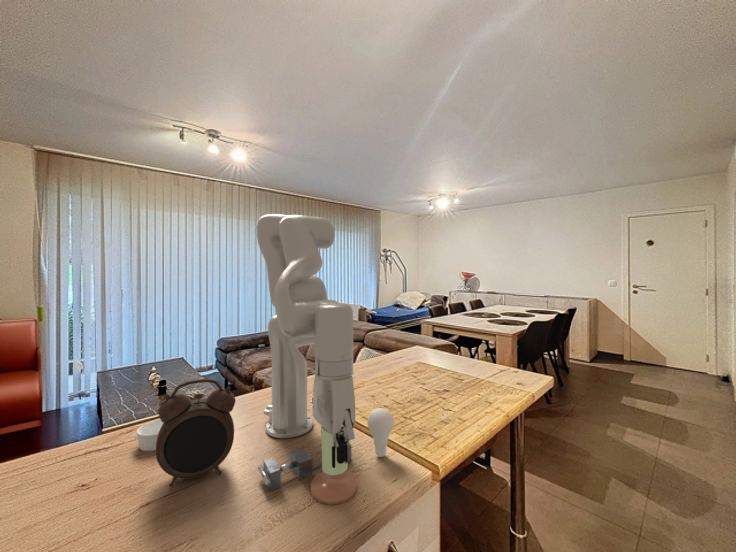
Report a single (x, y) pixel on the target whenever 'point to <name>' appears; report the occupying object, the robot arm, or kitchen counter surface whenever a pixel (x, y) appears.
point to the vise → (289, 467)
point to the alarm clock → (195, 432)
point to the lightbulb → (380, 429)
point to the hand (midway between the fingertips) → (334, 458)
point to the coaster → (334, 487)
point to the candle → (330, 455)
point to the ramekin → (149, 435)
